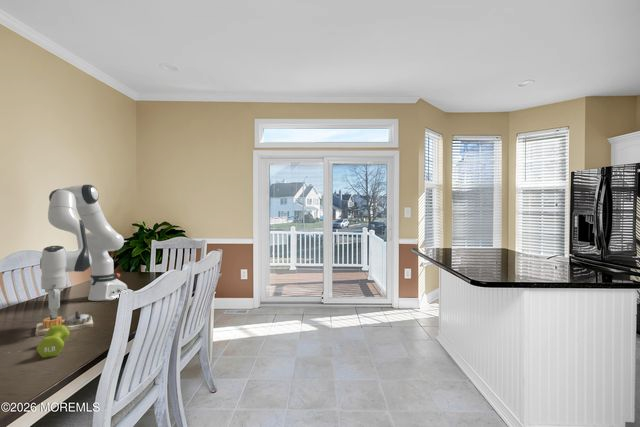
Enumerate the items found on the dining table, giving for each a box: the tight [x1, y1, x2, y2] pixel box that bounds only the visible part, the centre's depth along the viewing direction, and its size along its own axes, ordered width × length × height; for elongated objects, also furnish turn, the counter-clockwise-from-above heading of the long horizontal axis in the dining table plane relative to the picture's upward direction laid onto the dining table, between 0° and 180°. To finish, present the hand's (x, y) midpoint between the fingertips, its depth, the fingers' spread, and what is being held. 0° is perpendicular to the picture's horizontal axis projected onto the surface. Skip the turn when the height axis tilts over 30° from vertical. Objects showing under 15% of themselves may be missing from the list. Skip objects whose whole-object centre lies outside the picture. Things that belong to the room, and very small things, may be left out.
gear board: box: [35, 310, 94, 337], centre depth 152 cm, size 20×13×6 cm, turn 128°
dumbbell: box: [36, 325, 71, 359], centre depth 128 cm, size 16×8×7 cm, turn 29°
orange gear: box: [42, 315, 63, 328], centre depth 149 cm, size 7×7×3 cm
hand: (54, 314), depth 150 cm, fingers open, 8 cm apart
